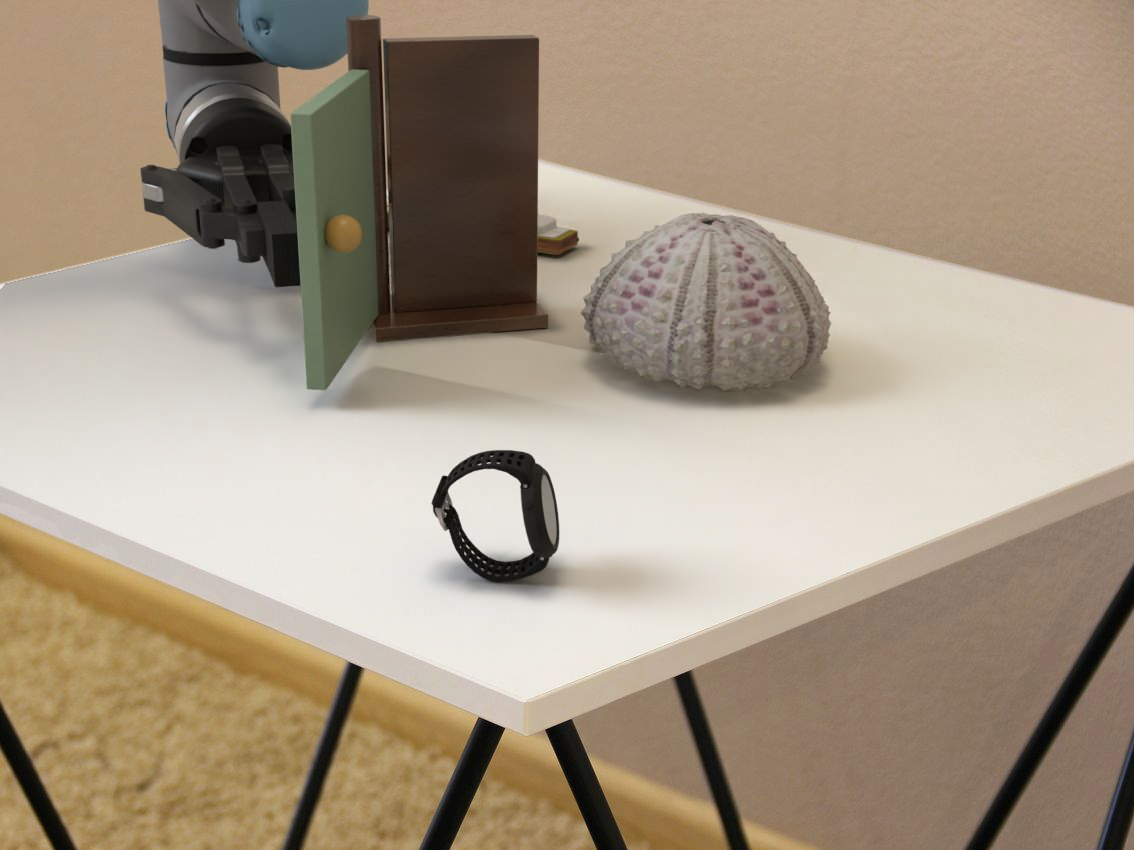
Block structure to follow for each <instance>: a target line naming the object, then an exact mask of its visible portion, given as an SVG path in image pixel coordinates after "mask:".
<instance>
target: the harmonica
mask: <svg viewBox="0 0 1134 850" xmlns="http://www.w3.org/2000/svg"><path fill="white" fill-rule="evenodd" d="M387 220H388V229H389V204H387ZM579 242H580V237H579V231H578V230H576V229H571V228H570V227H569V228H568V227H562V226H557V218H556V217H554V216H549V215H546V214H545V215H544V214H540V213H538V240H537V254H538V253H540V254H545V255H557V256H559V255H561V254H563V253H564V252H567V251H569V250H570V249H572V248H574V247H576V246H578V243H579Z"/></svg>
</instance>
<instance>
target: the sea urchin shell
mask: <svg viewBox="0 0 1134 850" xmlns="http://www.w3.org/2000/svg"><path fill="white" fill-rule="evenodd" d="M797 255H798V254H796V253H794V252H792V251H791V250H790V249H789V248H788V246H787V243H786V241H782V240H780V239H779V238H777V236H776V234H775V233H774V232H770V231H768V230H767V229H766V228H764V227H763V226H762V224H759V223H758V222H756V221H755V220H753V219H750V218H746V217H742V216H738V215H737V216H736V215H732V214H727V215H726V214H725V215H721V214H716V213H715V214H709V213H706V212H698V213H695V212H690V213H687V214H686V213H685V214H681V215H679V216H677V217H675V218H672V219H671V220H670V221H667V222H666V223H664V224H662V225H658V224H657V225H654V228H653V229H651V230H648V231H643V232H642V233H641V235H640V236H639V237H637V238H635V239H631V240H625V245H624V247H623V248H622V249H621V250H620V251H618V252H614V253H611V254H610V256H611V257H610V258H611V259H610V262H609V263H608V264H607V265H605V266H603V267H601V268H600V269H599V275H598V276H597V277H595V278H594V282H593V283H592V284H591V285H590V292H589V293H587V294H586V295H585V296H583V297H582V300H583V301H584V304H585V307H584V308H583V309H582V310H581V311H580V314H581V316H582V318H584V320H585V322H584V325H583V327H582V328H583V330H585V331H586V332H587V333H589V343H590V344H592V345H596V346H597V347H598V350H599V353H600V354H603V357H604V358H606V359H609V360H612V361H614V362H615V363H616V365H617V366H618V367H619V368H620V369H622V370H632V371H633V373H634V374H638V376H640V377H641V376H643V377H644V378H645V379H646V380H647V379H648V380H649V379H651V380H653V381H654V383H655V382H658V381H659V382H662V381H664V380H669V381H673V382H674V383H676V384H677V386H680V387H681V388H684V387H687V386H690V387H691V388H695V389H697V390H701V389H702V388H704V387H708V386H713V387H716V388H718V389H721V390H722V391H723V392H725V393H727V392H729V391H736V392H737V393H738V392H739V393H740V392H742V391H743V390H745V389H751V390H758V389H759V388H764V389H767V390H769V389H770V388H775V387H776V386H777V385H778V384H779V383H781V382H789V380H790V379H791V380H796V378H798V376H799V375H800V374H807V373H809V370H810V368H811V366H812V365H816V364H820V363H821V362H820V361H821V355H824V352H825V351H826V350H827V349H828V344H829V337H830V336H831V334H830V332H829V331H830V327H831V325H832V321H831V320H830V314H831V311H829V308H830V306H829V305H828V304H826V300H825V297H824V296H823V295H822V293H821V291H820V289H819V287H818V285H817V284H816V280H814V279H813V277H812V276H811V275H810V273H809V272H808V271H807V269H806V268H805V266H804V265H803V264H802V262H801V261H800V260H799V258H798V256H797Z"/></svg>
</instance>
